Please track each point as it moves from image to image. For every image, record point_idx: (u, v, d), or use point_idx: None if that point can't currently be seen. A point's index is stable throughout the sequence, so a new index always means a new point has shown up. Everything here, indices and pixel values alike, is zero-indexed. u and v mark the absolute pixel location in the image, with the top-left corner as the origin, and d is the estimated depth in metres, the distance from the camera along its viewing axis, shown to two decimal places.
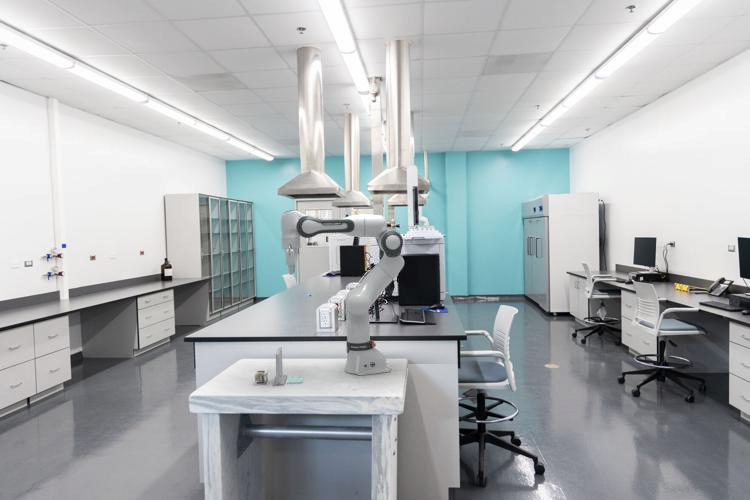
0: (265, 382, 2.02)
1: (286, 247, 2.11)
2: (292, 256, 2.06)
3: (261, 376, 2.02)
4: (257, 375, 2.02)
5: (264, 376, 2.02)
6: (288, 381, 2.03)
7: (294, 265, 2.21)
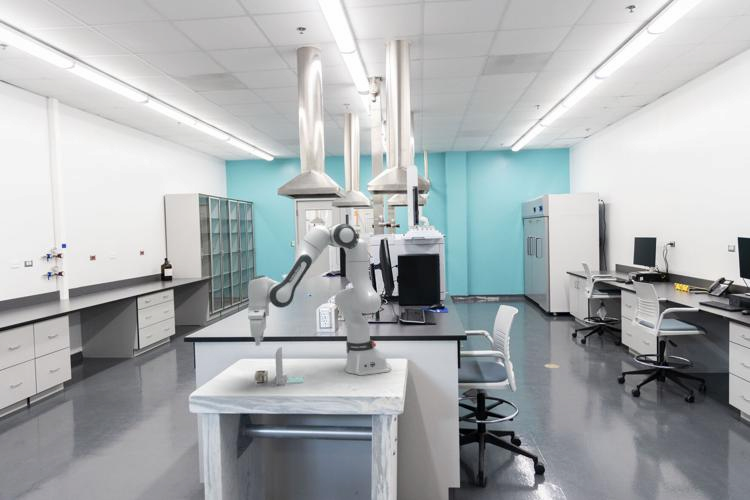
0: (265, 382, 2.02)
1: None
2: None
3: (261, 376, 2.02)
4: (257, 375, 2.02)
5: (264, 376, 2.02)
6: (288, 381, 2.03)
7: None
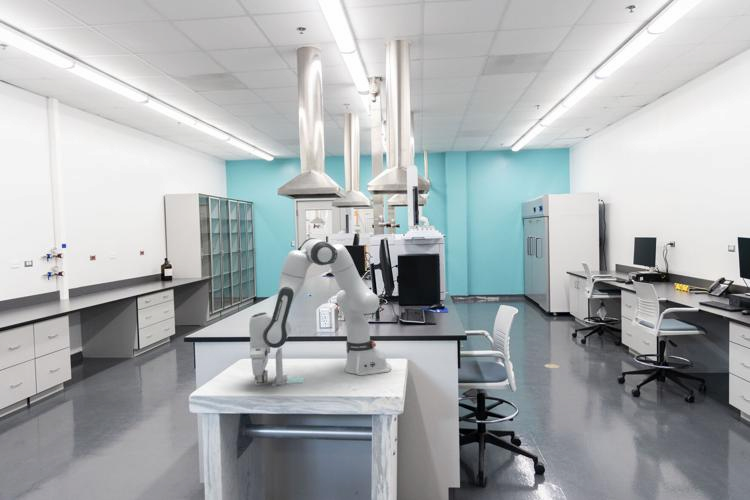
0: (265, 382, 2.02)
1: None
2: None
3: None
4: None
5: (264, 376, 2.02)
6: (288, 381, 2.03)
7: None
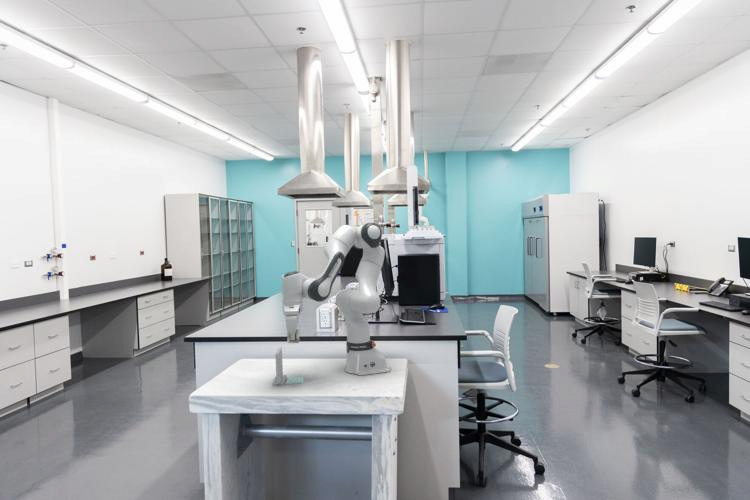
0: (297, 340, 2.03)
1: None
2: None
3: None
4: None
5: (296, 334, 2.03)
6: (288, 381, 2.03)
7: (290, 332, 2.00)
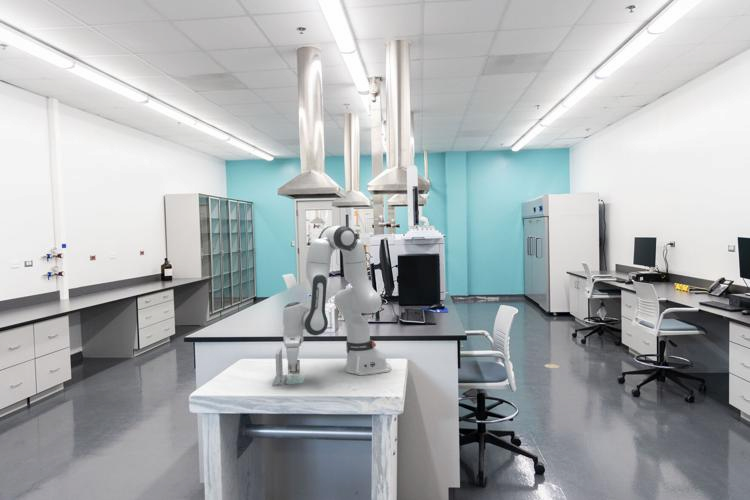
0: (298, 371, 2.03)
1: None
2: None
3: None
4: None
5: (297, 365, 2.03)
6: (288, 381, 2.03)
7: None
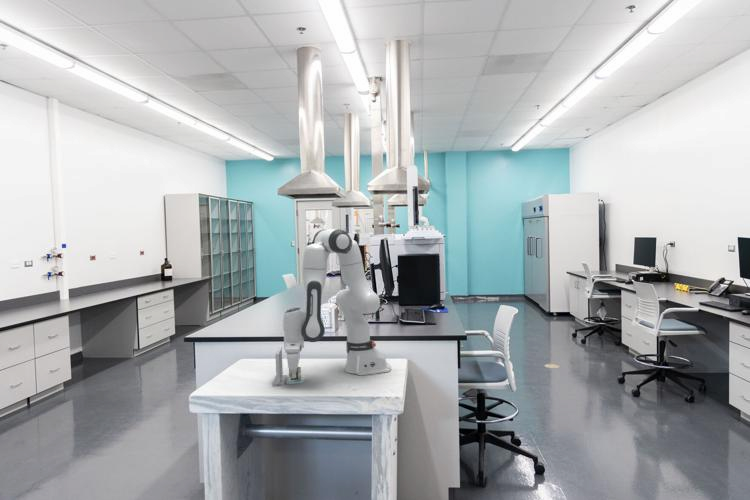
0: (299, 378, 2.04)
1: None
2: None
3: None
4: None
5: (298, 372, 2.03)
6: (288, 381, 2.03)
7: None
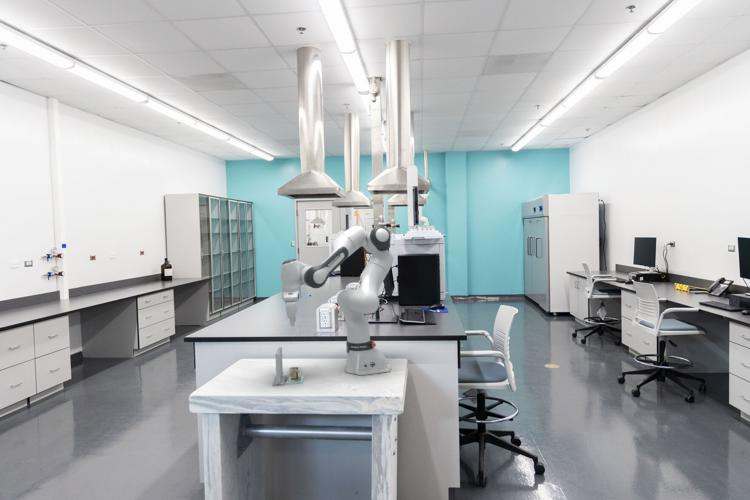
0: (299, 378, 2.04)
1: None
2: None
3: (295, 372, 2.03)
4: (291, 371, 2.03)
5: (298, 372, 2.03)
6: (288, 381, 2.03)
7: (290, 319, 2.06)
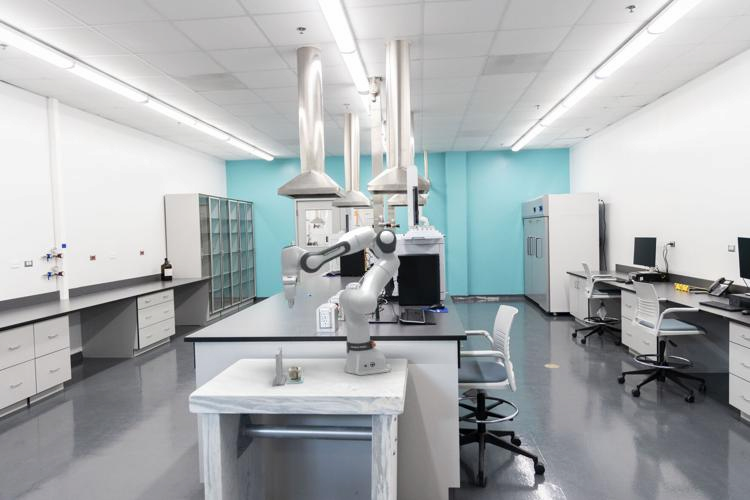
0: (299, 378, 2.04)
1: None
2: None
3: (295, 372, 2.03)
4: (291, 371, 2.03)
5: (298, 372, 2.03)
6: (288, 381, 2.03)
7: None
